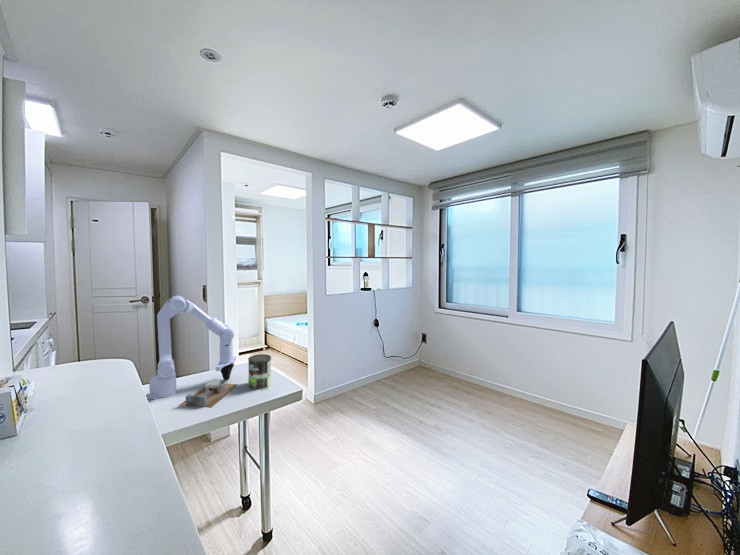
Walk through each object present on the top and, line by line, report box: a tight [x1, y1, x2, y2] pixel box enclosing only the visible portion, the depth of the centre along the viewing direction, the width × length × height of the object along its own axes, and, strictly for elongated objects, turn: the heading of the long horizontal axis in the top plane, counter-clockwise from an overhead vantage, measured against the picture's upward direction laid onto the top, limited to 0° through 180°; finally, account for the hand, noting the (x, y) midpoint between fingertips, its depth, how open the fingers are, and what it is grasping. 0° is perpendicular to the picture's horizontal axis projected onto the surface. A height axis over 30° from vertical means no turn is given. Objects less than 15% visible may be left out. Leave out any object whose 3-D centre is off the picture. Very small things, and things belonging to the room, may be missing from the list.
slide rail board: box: [178, 383, 239, 409], centre depth 133 cm, size 14×22×5 cm, turn 176°
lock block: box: [204, 379, 229, 393], centre depth 138 cm, size 7×6×3 cm
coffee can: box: [247, 353, 272, 391], centre depth 144 cm, size 10×10×14 cm
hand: (226, 379), depth 146 cm, fingers closed
